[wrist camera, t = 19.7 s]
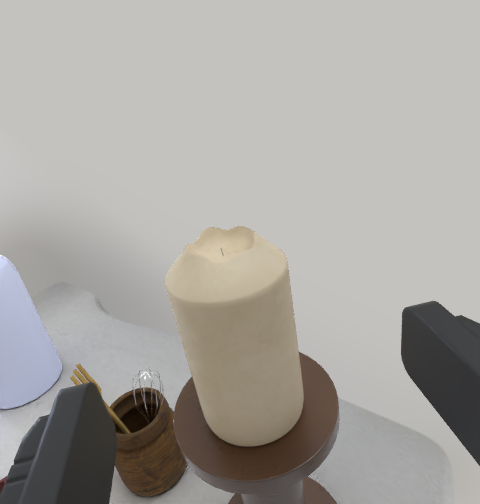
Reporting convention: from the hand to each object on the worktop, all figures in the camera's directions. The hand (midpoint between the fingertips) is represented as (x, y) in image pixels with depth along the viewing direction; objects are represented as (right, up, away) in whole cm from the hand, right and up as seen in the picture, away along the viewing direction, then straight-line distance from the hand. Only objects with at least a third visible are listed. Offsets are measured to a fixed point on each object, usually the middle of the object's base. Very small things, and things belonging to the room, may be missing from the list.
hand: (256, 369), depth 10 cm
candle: (0, -5, +11) cm, 12 cm away
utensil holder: (-8, -16, +24) cm, 30 cm away
